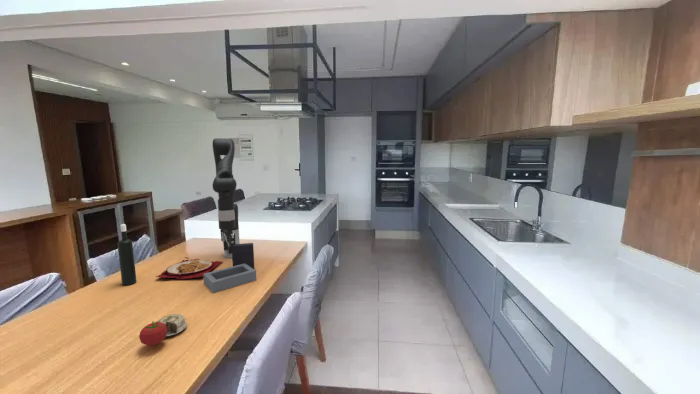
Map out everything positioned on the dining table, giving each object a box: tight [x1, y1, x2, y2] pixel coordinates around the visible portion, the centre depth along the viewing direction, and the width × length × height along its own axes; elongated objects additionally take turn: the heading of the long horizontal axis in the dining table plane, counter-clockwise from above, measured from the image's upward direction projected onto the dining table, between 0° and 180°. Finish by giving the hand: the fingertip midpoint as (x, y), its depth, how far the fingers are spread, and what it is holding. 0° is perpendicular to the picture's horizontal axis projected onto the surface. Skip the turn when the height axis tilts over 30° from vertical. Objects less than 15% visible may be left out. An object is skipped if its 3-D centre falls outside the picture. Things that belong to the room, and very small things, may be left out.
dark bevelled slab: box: [231, 242, 255, 270], centre depth 159 cm, size 11×4×15 cm, turn 105°
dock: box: [203, 263, 257, 294], centre depth 145 cm, size 14×21×5 cm, turn 132°
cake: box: [158, 313, 188, 337], centre depth 106 cm, size 10×10×5 cm
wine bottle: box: [117, 223, 137, 286], centre depth 143 cm, size 6×6×30 cm
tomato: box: [138, 320, 168, 347], centre depth 97 cm, size 8×8×8 cm
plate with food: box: [155, 256, 224, 280], centre depth 160 cm, size 24×26×3 cm
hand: (228, 251), depth 144 cm, fingers open, 6 cm apart
